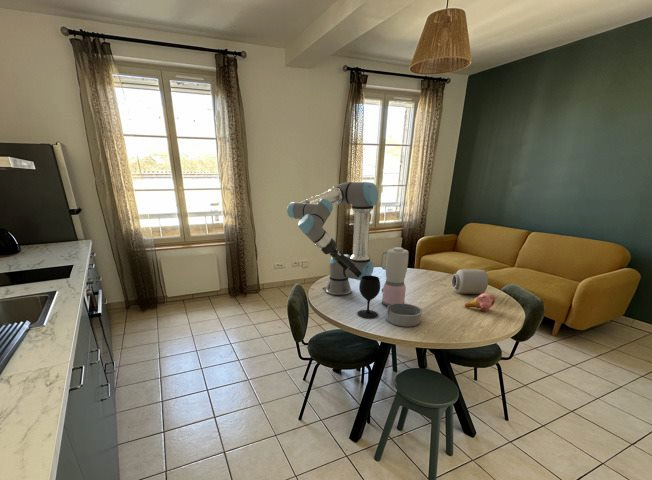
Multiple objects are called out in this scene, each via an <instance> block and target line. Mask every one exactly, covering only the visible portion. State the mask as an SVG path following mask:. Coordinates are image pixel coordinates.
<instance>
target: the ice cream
mask: <svg viewBox="0 0 652 480" xmlns="http://www.w3.org/2000/svg"><path fill="white" fill-rule="evenodd" d="M495 302H496V297H495V296H494V295H493V294H491V293H488V292H487V293H485V292H484V293H482V294H479V295H478V296H477V297H474V298H473V299H472V300H471V301H468V302H466V303H465V304H464V307H465V308H466V309H469V308H475V309H479V310H480V311H481V312H487V311H488V310H489V309H491V308H492V307H493V306H494V305H495Z"/></svg>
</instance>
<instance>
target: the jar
mask: <svg viewBox="0 0 652 480" xmlns="http://www.w3.org/2000/svg"><path fill="white" fill-rule="evenodd" d="M450 277H451V287H452V290H453V289H454V290H455V292H456V293H458V294H462V295H463V294H465V295H466V294H467V295H481V294H483V293H485V292H486V290H487V289H488V285H489V277H488V273H487V272H486V271H485V270H484V269H472V268H471V269H470V268H469V269H468V268H464V269H462V268H461V269H458V270H457V271H456V272H455V273H453V274H452V276H450ZM450 277H449V276H448V278H450ZM448 278H446V279H447V280H448ZM443 280H444V281H445V279H443V278H442V281H443ZM447 287H449V285H447Z"/></svg>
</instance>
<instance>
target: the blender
mask: <svg viewBox="0 0 652 480" xmlns="http://www.w3.org/2000/svg"><path fill="white" fill-rule="evenodd" d="M409 253H410V252H409V250H407V249H404V248H403V247H398V246H396V247H393V248H389V249H388V250H387V251H384V252H382V254H381V263H380V264H381V265H380V268H381V270H384V271H385V281H384V284H383V287H382V288H381V293H382V295H381V297H382V298H381V304H382V305H385V306H389V305H391V304H395V303H405V300H406V299H405V298H406V291H407V288H406V285H405V278H406V276H407V273H408V272H407V271H408V266H409V255H410V254H409Z"/></svg>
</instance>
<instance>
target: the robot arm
mask: <svg viewBox="0 0 652 480" xmlns="http://www.w3.org/2000/svg"><path fill="white" fill-rule="evenodd" d="M378 201H379V190H378V187H377V185H376V184H375V183H373V182H368V181H360V182H359V181H353V182H352V181H347V182H342V183H340V184H337V185H335V186H332V187H330V188H329V189H328V190H327V191H324V192H322V193H320V194H319V193H318V194H317V195H315V196H311V197H309V198H308V199H304V200H302V201H298V202H297V201H292V202H290V203H288V205H287V207H286V214H287V216H288V217H289V218H290V219H295V220H299V221H298V223H297V227H298V229H299V230H300V231H301V232H302V233H303V234H304V235H305V236H306V237H307V238H308V239H309V240H310V241H311V242H312V243H313V244H314V247H317V248H318V249H319V250H320V251H321V252H322V253H323V255H329V256H330V258H329V280H328V282H327V285H326V287H322V289H323V290H325V291H326V293H327V294H329V295H332V296H347V295H349V294H351V292H352V287H351V285H350V281H349V279H352V280H356V281H361V278H362V277H363V276H373V273H374V270H375V269H374V268H375V264H374V262H373V261H371V256H370V255H369V242H370V224H371V212H372V211H373V210H374V207H375V206H376V205H377V204H378ZM338 205H351V209H352V211H353V212H354V213H353V214H354V216H353V238H352V239H353V241H352V254H351V255H350V254H347V253H345V254H344V253H343V252H342V251H341V250H340V249H339V248H336V247H337V246H338V245H337V244H338V243H337V242H336V240H335V239H334V238H333V237H332V236H331V235H330V234H329V233H328V232H327V230H325V229H324V225H325V224H326V222H327V220H328V219H329V217H330V216H331V214H332V211H333V209H334V206H338Z"/></svg>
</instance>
